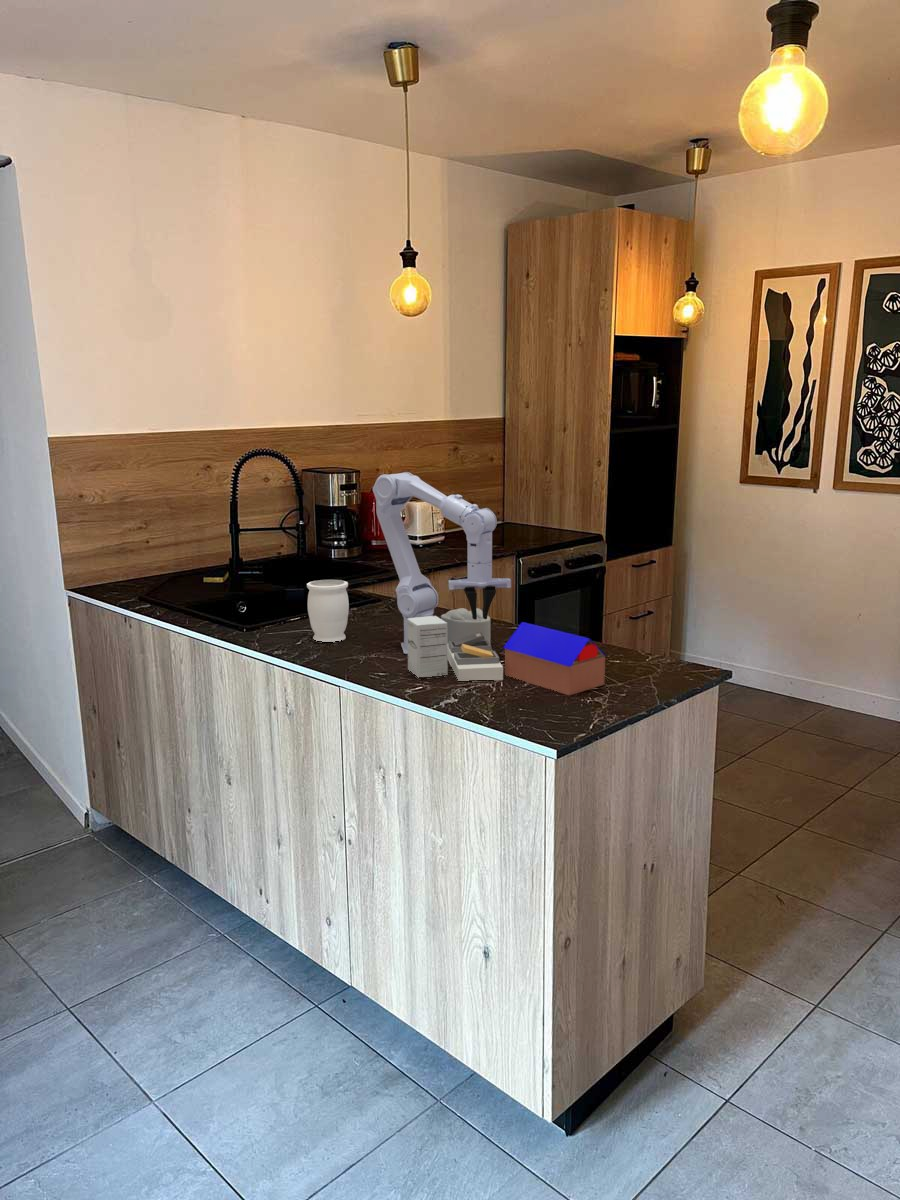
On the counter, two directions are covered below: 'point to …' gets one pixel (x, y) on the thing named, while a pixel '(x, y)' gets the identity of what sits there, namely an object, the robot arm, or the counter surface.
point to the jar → (328, 609)
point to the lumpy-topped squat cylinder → (466, 624)
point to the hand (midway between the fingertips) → (479, 618)
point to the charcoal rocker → (469, 640)
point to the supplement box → (427, 646)
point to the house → (554, 659)
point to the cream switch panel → (474, 663)
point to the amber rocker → (476, 651)
